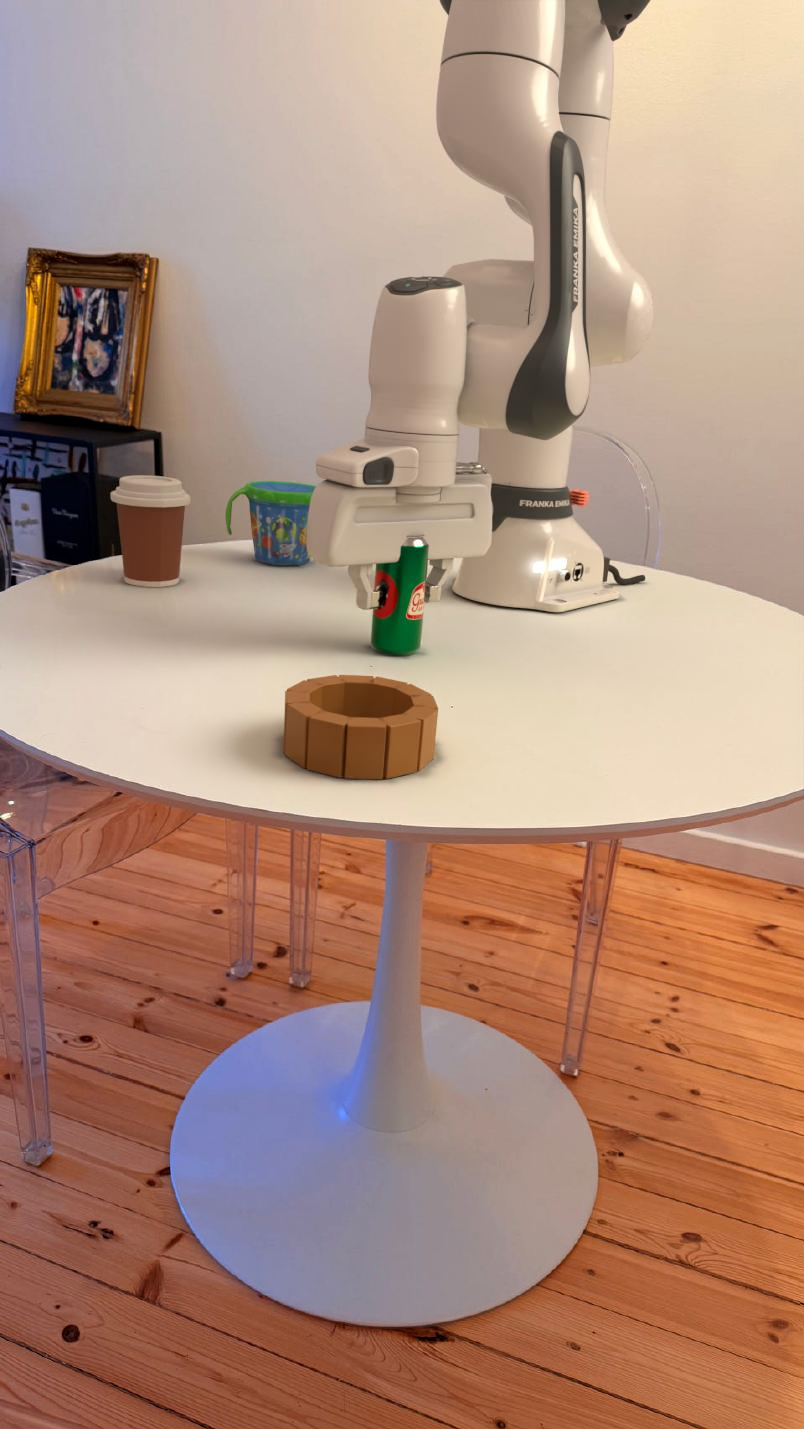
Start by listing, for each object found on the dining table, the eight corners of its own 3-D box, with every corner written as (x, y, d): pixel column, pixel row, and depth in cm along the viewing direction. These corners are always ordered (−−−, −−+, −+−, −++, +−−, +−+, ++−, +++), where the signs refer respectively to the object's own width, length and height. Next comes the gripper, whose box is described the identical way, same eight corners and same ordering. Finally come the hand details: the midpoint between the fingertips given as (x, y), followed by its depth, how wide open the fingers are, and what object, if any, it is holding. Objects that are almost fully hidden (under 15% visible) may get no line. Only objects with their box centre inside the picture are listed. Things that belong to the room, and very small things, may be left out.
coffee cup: (97, 583, 116) (94, 479, 112) (135, 569, 124) (133, 471, 120) (169, 593, 114) (169, 488, 110) (202, 578, 123) (203, 479, 119)
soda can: (415, 659, 97) (425, 538, 93) (365, 653, 98) (372, 532, 94) (424, 646, 102) (434, 529, 98) (376, 640, 103) (384, 524, 98)
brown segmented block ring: (376, 713, 82) (379, 668, 81) (462, 762, 74) (467, 711, 72) (256, 735, 76) (257, 686, 74) (335, 791, 67) (338, 736, 66)
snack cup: (338, 556, 141) (342, 484, 138) (341, 573, 131) (346, 495, 128) (227, 550, 139) (228, 477, 136) (222, 566, 129) (223, 488, 126)
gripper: (472, 458, 102) (459, 589, 107) (300, 457, 90) (294, 605, 95) (513, 466, 97) (498, 603, 102) (338, 467, 85) (330, 622, 90)
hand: (398, 604), depth 98 cm, fingers open, 6 cm apart
